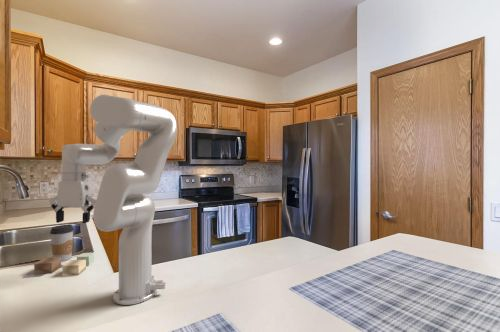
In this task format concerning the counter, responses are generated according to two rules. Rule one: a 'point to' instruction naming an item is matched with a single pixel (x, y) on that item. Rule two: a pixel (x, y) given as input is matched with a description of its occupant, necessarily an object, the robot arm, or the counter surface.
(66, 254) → the coffee cup
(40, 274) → the flat square pad
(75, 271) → the maple block
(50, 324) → the counter surface
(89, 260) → the sage block
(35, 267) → the walnut block
